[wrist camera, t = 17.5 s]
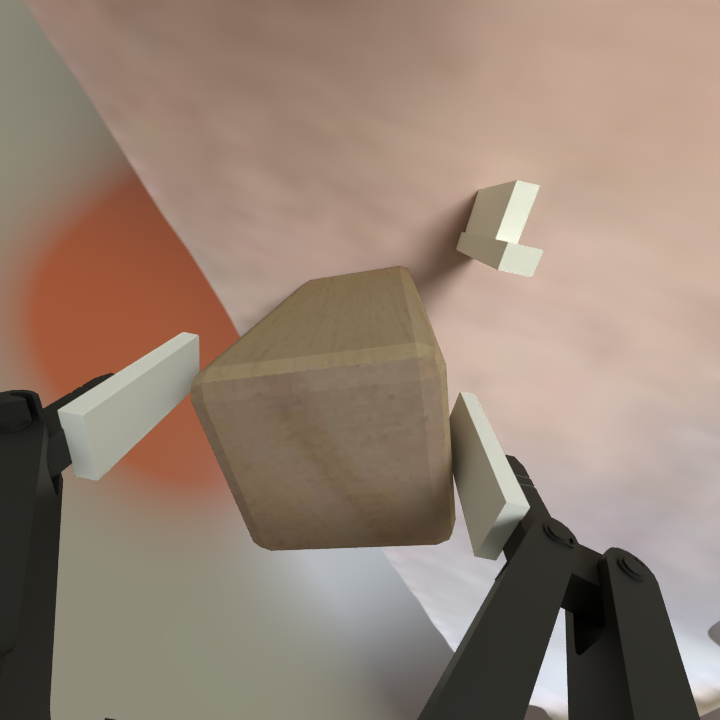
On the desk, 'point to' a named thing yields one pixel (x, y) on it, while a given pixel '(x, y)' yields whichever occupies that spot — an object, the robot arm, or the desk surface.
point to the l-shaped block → (501, 228)
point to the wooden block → (335, 418)
